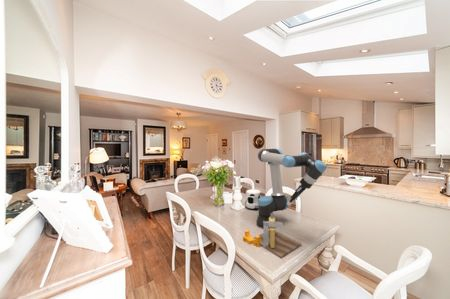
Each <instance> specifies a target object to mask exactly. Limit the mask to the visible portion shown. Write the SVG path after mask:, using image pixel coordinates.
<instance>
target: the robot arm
mask: <svg viewBox="0 0 450 299" xmlns="http://www.w3.org/2000/svg"><path fill="white" fill-rule="evenodd" d="M257 159H258V160H259V161H260V162H263V163H267V165H268V166H269V168H270V169H269V170H270V171H269V172H270V178H271V180H270V181H271V189H272V193H271V196H270V195H261V197H260V198H259V201H258V209H257V210H258V215H257V219H256V220H255V221H256V226H257V227H258V228H261V229H263V221H269V217H270V214H271V213H273V214H274V212H279V211H281V212H282V211H285V210H288V208H289V207H290V206H292V205H293V203H294V202H295V201H297V200H298V198H299V196H301V194H302V193H304V191H305V190H306V189H308V190H309V189H311V188H312V186H314V184H315V183H317V180H318V179H319V178H320V177H321V176H322V175H323V173H325V172H326V170H327V168H328V166H327V164H326V163H325V162H324V161H322V160H320V159H316V160H315V159H314V158H313V157H312V156H311V155H310V154H309V153H307V152H305V151H304V152H301V153H299V155H290V154H289V155H287V154H284V152H283V151H282V150H281V149H279V148H263V149H261V150H259V152H258V153H257ZM280 165H281V166H284V168H289V169H291V168H298V167H305V169H307V170H308V171H307V172H305V174H304V175H303V177H302V178H301V179H300V180H299V183H300V185H299V186H298V187H297V188H296V189H295V191H294V192H293V194H292V195H291V196H290V198H289V199H288V196H286V194H285V193H284V190H283V182H282V175H281V174H282V172H281V166H280ZM268 230H269V226H268Z"/></svg>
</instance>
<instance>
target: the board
mask: <svg viewBox="0 0 450 299" xmlns="http://www.w3.org/2000/svg"><path fill="white" fill-rule="evenodd" d="M257 236H260V246H259V247H262V248H264V244H263V233H261V234H259V235H257ZM252 238H253V239H255V238H256V236H255V237H252ZM302 246H303V245H302V243H300V242H299V241H296V240H295V239H292V238H290V237H288V236H287V235H284V234H282V233H280V232H278V231H276V230H275V248H271V247H270V234H269V230H268V247H265V248H264V249H265V250H267V251H268V252H270V253H271V254H274V255H275V256H276V257H279V259H283V258H285V257H286V256H288V255H289V254H291V253H292V252H294V251H296V250H297V249H299V248H301V247H302Z"/></svg>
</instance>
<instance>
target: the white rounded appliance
mask: <svg viewBox="0 0 450 299" xmlns="http://www.w3.org/2000/svg"><path fill="white" fill-rule="evenodd" d="M245 196H246V197H245V202H244V204H245V207H246V208H247V209H249V210H258V201H259V198H260V197H262V193H261V190H259V189H257V188H256V189H255V188H251V189H247V190H246V192H245Z"/></svg>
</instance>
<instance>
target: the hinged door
mask: <svg viewBox="0 0 450 299" xmlns="http://www.w3.org/2000/svg"><path fill="white" fill-rule="evenodd" d="M269 221H272V222H276V217H274V212H273V213H271V214H270V217H269ZM268 231H269V234H270V247H271V248H275V231H276V227H272V226H269V229H268Z"/></svg>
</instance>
